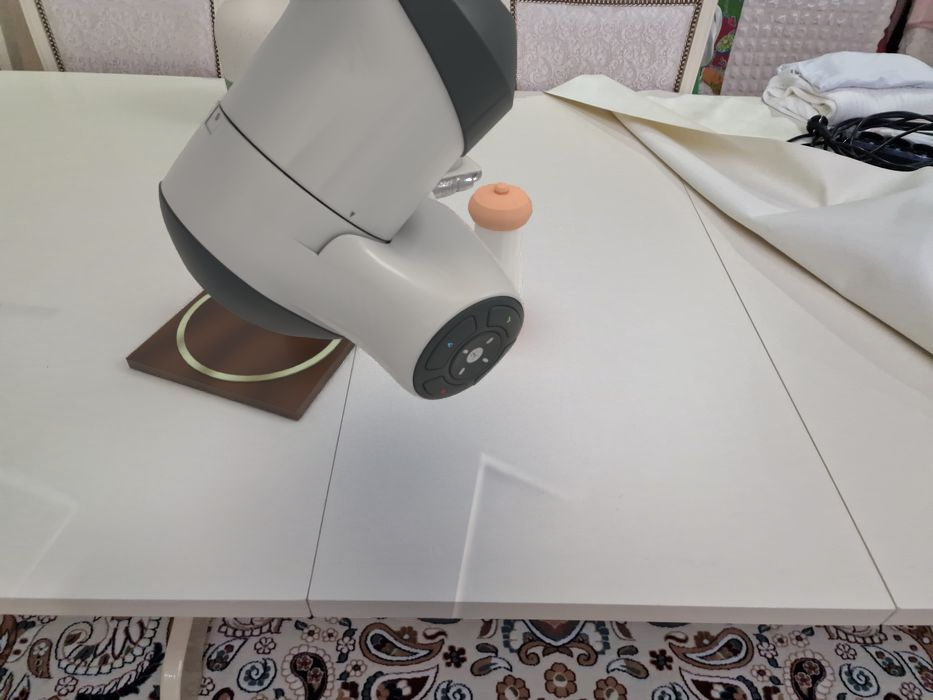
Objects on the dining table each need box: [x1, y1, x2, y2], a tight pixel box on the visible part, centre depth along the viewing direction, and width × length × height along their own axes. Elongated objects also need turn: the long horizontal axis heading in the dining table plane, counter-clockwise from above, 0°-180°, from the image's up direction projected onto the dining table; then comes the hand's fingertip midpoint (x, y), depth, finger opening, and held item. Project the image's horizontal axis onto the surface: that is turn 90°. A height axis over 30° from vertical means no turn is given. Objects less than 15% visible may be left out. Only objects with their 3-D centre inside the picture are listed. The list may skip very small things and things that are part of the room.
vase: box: [213, 0, 290, 92], centre depth 115 cm, size 17×17×24 cm
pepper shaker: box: [467, 182, 533, 297], centre depth 71 cm, size 7×7×19 cm
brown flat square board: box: [125, 289, 357, 422], centre depth 75 cm, size 22×22×2 cm
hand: (296, 132), depth 50 cm, fingers open, 8 cm apart
